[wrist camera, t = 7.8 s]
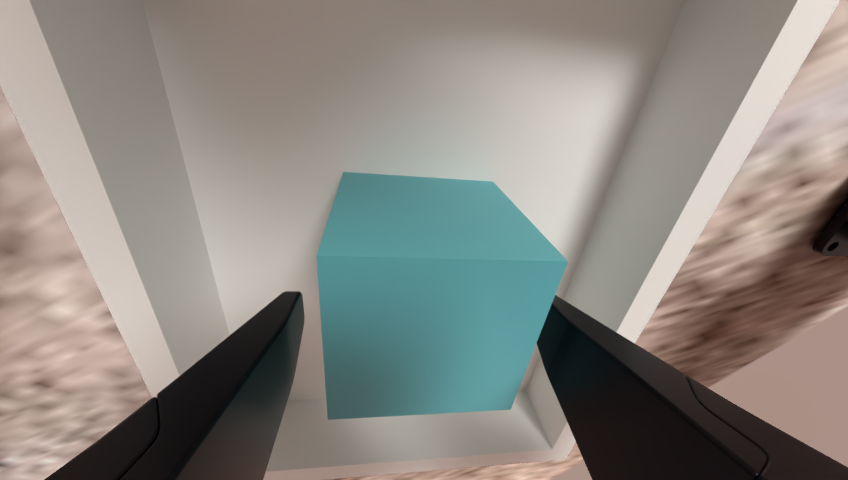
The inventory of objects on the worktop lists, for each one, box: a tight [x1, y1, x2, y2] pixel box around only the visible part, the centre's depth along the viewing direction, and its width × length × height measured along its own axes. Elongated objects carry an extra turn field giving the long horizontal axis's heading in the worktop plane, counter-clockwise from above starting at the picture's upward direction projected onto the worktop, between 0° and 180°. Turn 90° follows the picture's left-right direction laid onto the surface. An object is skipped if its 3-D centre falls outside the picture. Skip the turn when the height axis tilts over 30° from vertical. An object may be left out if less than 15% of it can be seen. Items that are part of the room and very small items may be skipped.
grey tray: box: [0, 0, 840, 480], centre depth 11 cm, size 16×20×4 cm
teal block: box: [316, 172, 568, 420], centre depth 9 cm, size 5×5×5 cm
